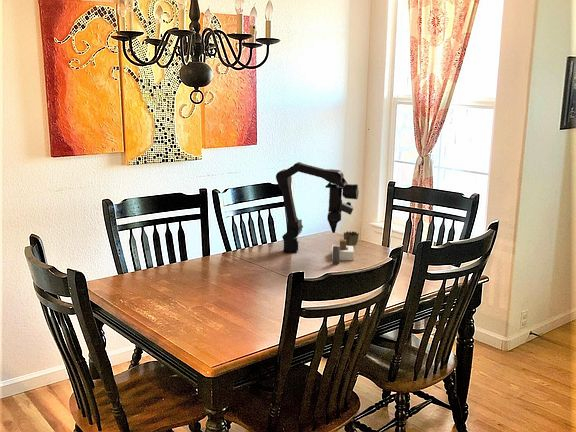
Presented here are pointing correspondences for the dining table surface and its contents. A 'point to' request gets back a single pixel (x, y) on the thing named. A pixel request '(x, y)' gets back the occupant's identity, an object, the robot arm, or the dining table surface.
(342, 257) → the socket block
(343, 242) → the square peg
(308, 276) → the dining table surface
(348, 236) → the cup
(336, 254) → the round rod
